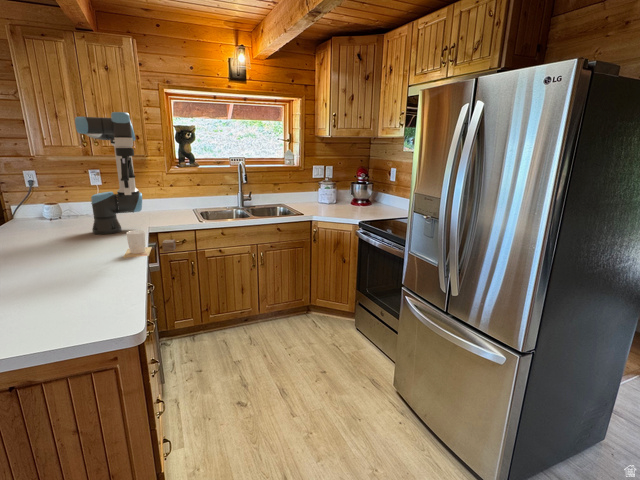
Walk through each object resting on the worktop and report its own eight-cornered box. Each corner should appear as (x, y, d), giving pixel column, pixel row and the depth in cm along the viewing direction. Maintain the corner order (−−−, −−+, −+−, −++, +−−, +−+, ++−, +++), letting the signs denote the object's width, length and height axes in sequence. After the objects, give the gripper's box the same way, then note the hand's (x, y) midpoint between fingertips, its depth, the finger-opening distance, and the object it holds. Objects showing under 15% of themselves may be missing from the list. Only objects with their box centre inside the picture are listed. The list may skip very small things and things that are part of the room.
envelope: (128, 249, 181) (127, 248, 181) (152, 247, 185) (151, 246, 184) (122, 258, 166) (122, 257, 166) (148, 256, 170) (148, 255, 170)
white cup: (127, 254, 171) (124, 234, 168) (130, 250, 178) (128, 230, 176) (145, 253, 173) (143, 233, 170) (148, 249, 180) (146, 229, 178)
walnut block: (165, 249, 181) (164, 240, 180) (175, 249, 182) (175, 239, 181) (163, 252, 176) (162, 242, 175) (174, 252, 177) (173, 242, 176)
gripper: (120, 146, 178) (125, 190, 184) (109, 147, 155) (116, 196, 161) (136, 147, 181) (141, 189, 186) (129, 147, 158) (135, 196, 163)
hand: (130, 193), depth 173 cm, fingers open, 13 cm apart
